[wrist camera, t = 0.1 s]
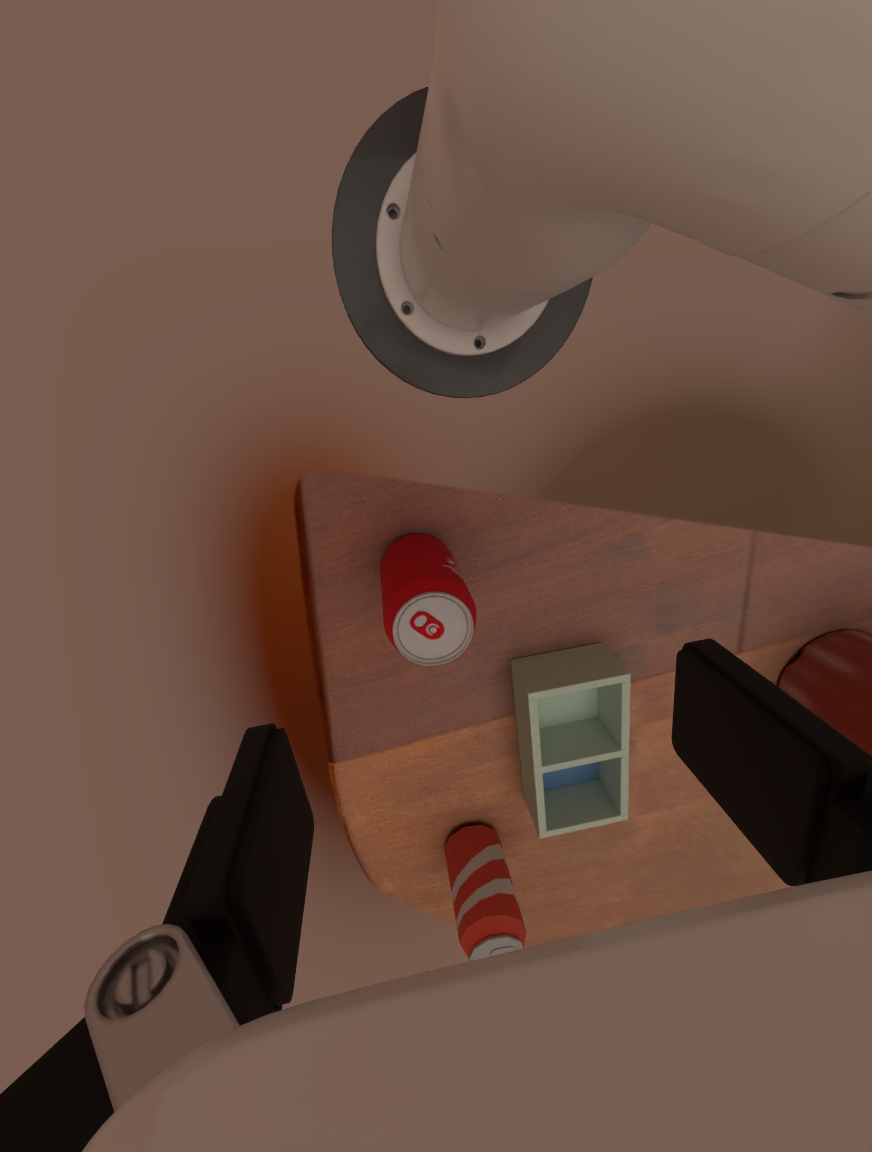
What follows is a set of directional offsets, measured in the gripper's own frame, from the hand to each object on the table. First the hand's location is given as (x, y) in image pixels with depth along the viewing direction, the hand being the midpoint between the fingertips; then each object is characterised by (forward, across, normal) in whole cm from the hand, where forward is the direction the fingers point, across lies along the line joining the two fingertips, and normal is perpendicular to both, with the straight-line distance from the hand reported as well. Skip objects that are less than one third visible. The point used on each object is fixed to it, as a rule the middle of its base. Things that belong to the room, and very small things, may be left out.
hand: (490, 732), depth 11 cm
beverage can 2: (+30, -1, +41) cm, 51 cm away
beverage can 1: (+30, 0, +7) cm, 31 cm away
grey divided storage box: (+30, -12, +27) cm, 42 cm away
